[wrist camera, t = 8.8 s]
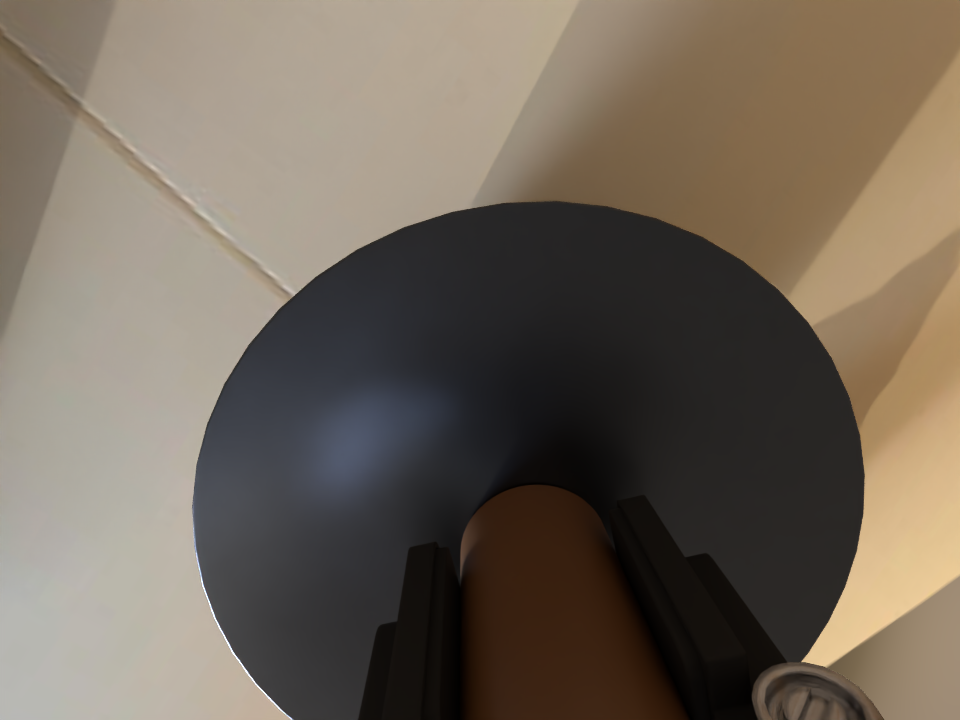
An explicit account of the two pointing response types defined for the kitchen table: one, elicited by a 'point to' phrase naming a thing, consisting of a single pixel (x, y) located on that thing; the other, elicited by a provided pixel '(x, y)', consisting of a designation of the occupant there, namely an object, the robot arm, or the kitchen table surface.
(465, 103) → the kitchen table surface
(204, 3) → the kitchen table surface
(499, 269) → the lid
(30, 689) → the kitchen table surface
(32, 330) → the kitchen table surface
